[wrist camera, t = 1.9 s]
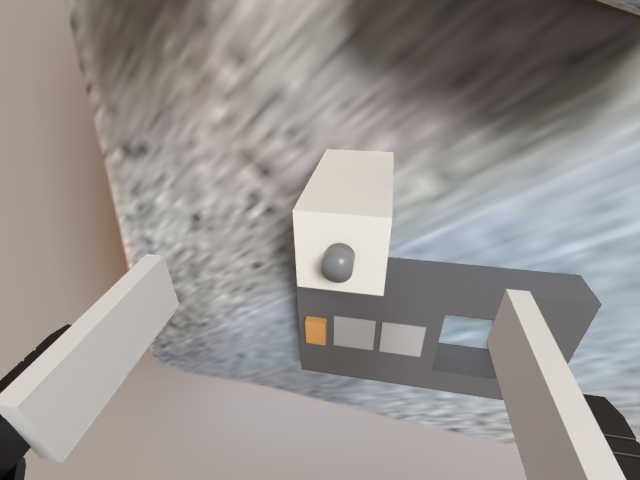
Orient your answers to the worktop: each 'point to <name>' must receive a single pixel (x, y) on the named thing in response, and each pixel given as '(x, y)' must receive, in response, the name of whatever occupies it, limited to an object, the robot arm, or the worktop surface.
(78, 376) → the robot arm
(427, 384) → the power strip
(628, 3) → the tin
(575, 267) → the worktop surface
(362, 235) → the block
